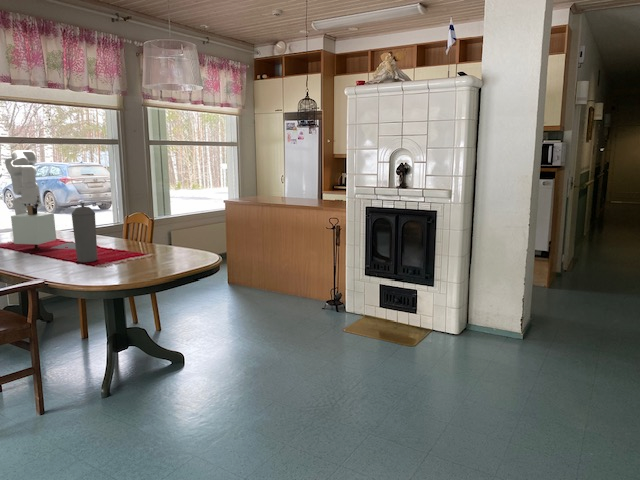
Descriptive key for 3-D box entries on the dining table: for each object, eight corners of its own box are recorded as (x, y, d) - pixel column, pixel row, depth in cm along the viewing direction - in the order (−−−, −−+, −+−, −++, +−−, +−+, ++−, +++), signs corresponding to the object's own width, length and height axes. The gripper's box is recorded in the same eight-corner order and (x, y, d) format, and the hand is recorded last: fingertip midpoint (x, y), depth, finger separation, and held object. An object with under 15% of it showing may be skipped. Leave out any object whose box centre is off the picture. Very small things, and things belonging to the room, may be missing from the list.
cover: (14, 243, 310) (9, 206, 305) (33, 238, 327) (29, 203, 322) (38, 244, 308) (34, 207, 303) (56, 239, 324) (52, 204, 320)
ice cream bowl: (49, 248, 323) (47, 226, 321) (38, 251, 312) (36, 228, 310) (34, 247, 324) (32, 225, 322) (23, 251, 313) (20, 228, 311)
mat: (49, 248, 322) (49, 248, 321) (68, 242, 341) (68, 242, 341) (76, 249, 319) (76, 249, 319) (94, 243, 338) (94, 243, 338)
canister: (75, 264, 280) (70, 204, 273) (75, 259, 291) (70, 202, 284) (99, 261, 286) (94, 203, 279) (98, 257, 297) (93, 201, 290)
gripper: (13, 185, 308) (17, 214, 311) (37, 186, 306) (40, 214, 309) (22, 184, 315) (25, 212, 319) (45, 185, 313) (48, 213, 316)
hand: (32, 213), depth 314 cm, fingers closed on cover, 3 cm apart
